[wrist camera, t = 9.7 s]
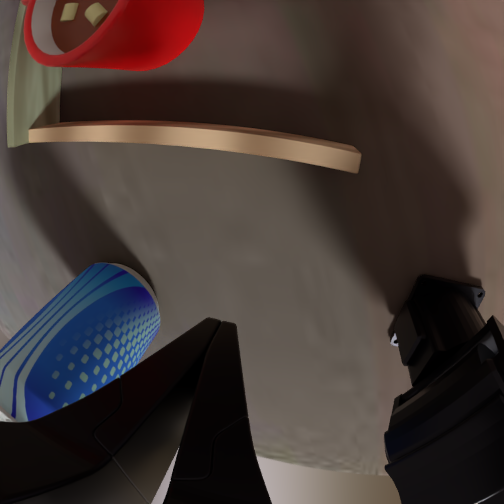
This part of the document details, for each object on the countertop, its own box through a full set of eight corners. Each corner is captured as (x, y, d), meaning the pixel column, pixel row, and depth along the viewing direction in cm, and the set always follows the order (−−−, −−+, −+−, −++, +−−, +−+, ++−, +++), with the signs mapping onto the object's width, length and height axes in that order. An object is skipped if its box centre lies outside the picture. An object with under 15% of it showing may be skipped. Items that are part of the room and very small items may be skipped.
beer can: (82, 248, 24) (-47, 362, 10) (162, 264, 23) (29, 430, 9) (99, 320, 28) (9, 433, 14) (171, 341, 27) (89, 487, 13)
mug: (92, -30, 13) (23, -51, 6) (224, -19, 13) (171, -75, 6) (58, 53, 16) (-19, 55, 9) (175, 84, 17) (96, 79, 10)
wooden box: (374, -72, 9) (385, -110, 4) (350, 161, 17) (362, 180, 12) (78, -47, 11) (39, -59, 7) (52, 134, 20) (7, 147, 15)
